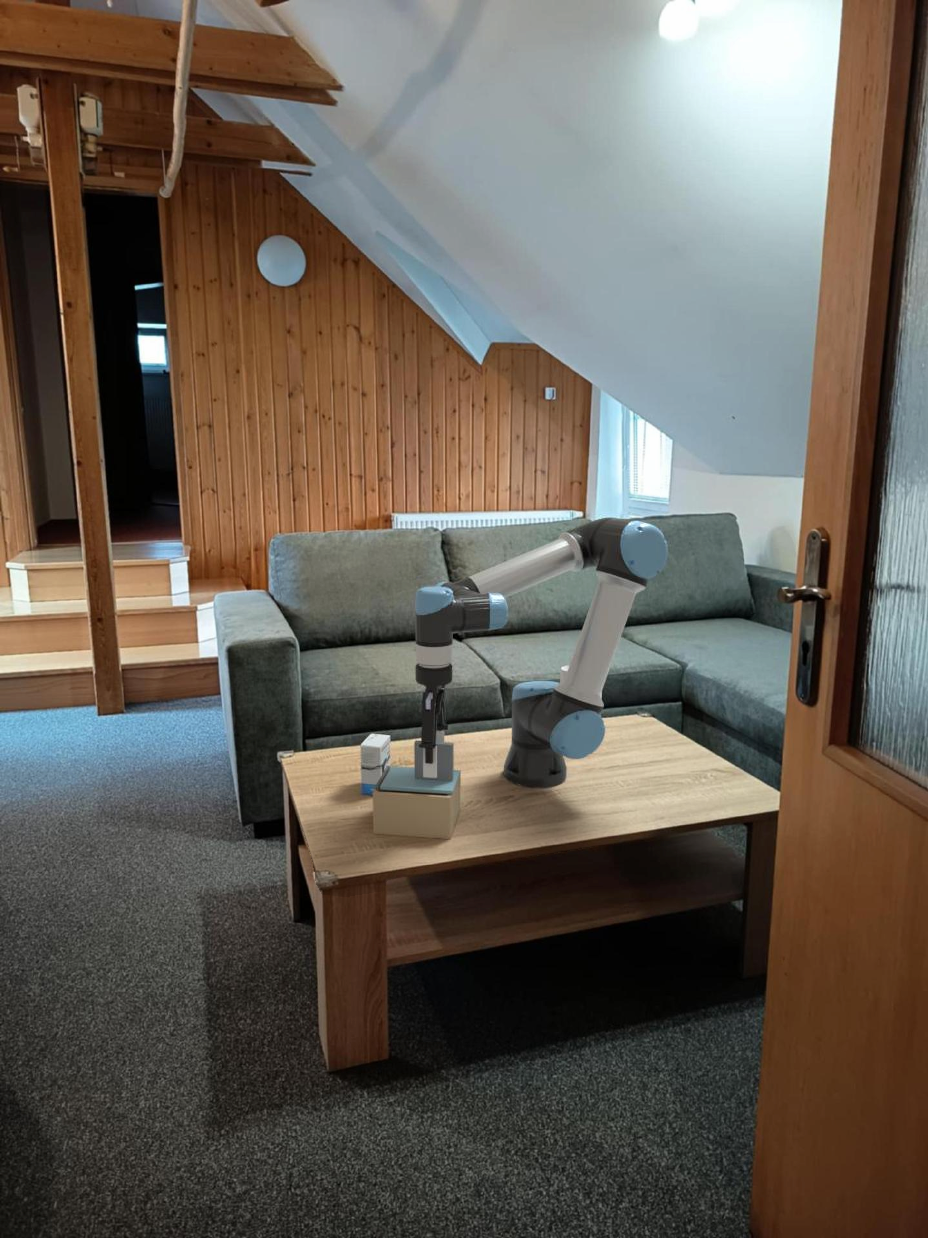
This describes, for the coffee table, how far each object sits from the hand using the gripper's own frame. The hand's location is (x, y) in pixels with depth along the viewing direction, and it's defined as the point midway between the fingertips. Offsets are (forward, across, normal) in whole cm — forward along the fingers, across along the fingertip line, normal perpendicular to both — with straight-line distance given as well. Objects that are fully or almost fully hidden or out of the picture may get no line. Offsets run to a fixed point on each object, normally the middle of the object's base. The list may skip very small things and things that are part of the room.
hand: (434, 768), depth 178 cm
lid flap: (+3, 0, -3) cm, 5 cm away
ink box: (+12, -16, -16) cm, 26 cm away
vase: (+12, -56, +30) cm, 65 cm away
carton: (+12, 0, -3) cm, 13 cm away
